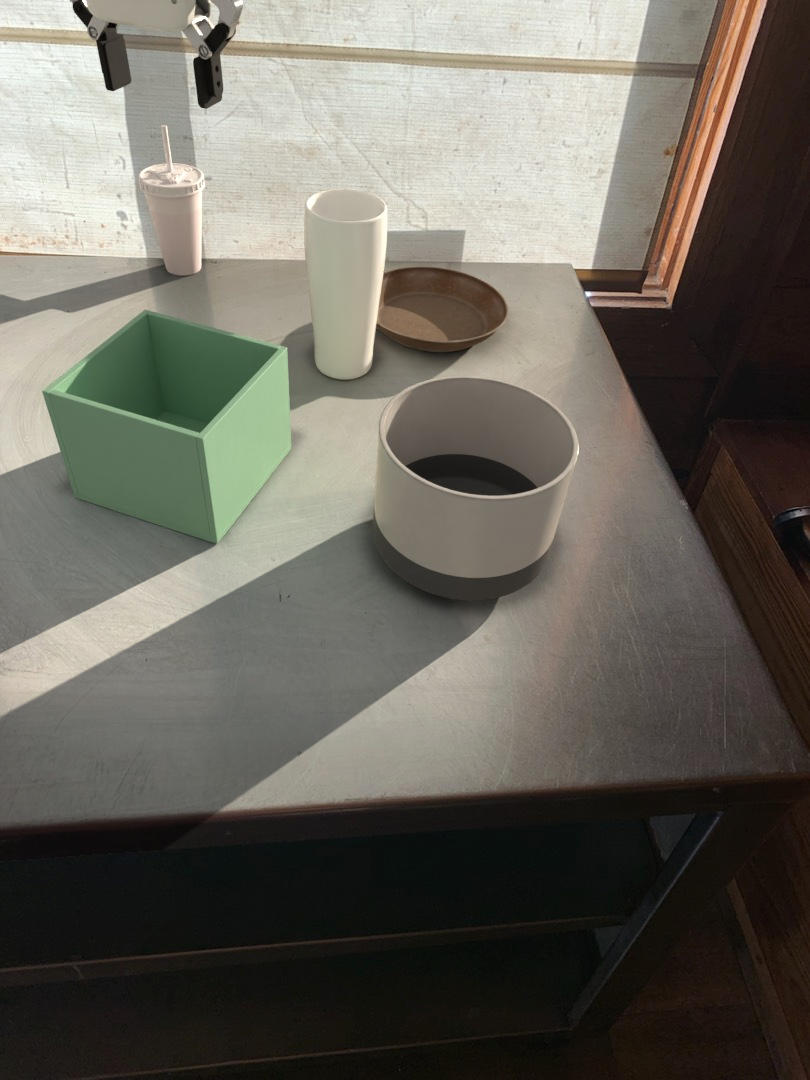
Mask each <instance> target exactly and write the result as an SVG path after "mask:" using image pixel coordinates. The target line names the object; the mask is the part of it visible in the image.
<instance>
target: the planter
mask: <svg viewBox="0 0 810 1080" xmlns="http://www.w3.org/2000/svg"><path fill="white" fill-rule="evenodd" d="M579 447H580V446H579V439H578V436H577V433H576V429H575V428H574V426H573V424H572V422H571V421H570V420H569V418H568V417H567V416H566V414H564V413H563V411H561V410H560V408H558V407H557V406H556V405H555V404H554V403H553V402H551V401H550V400H548V399H547V398H545V397H543V396H542V395H540V394H539V393H537V392H534V391H533V390H530V389H528V388H527V387H525V386H522V385H519V384H517V383H514V382H510V381H507V380H502V379H497V378H494V377H487V376H479V375H447V376H440V377H435V378H431V379H427V380H422V381H420V382H418V383H414V384H413V385H409V386H408V387H406V388H404V389H403V390H402V391H400V392H398V393H397V394H396V395H394V397H392V398H391V399H390V400H389V401H388V403H387V404H386V405H385V407H384V408H383V410H382V412H381V414H380V417H379V421H378V435H377V449H376V450H377V453H376V466H375V467H376V469H375V484H374V485H375V487H374V500H373V501H374V502H373V503H374V504H373V520H372V536H373V541H374V544H375V547H376V549H377V552H378V554H379V555H380V557H381V559H382V560H383V562H384V563H385V564H386V565H387V567H388V568H389V569H391V571H392V572H394V573H395V575H397V576H398V577H400V578H401V579H402V580H403V581H405V582H406V583H408V584H410V585H411V586H413V587H415V588H417V589H420V590H421V591H423V592H426V593H428V594H431V595H434V596H438V597H442V598H446V599H451V600H460V601H485V600H493V599H496V598H501V597H505V596H507V595H511V594H514V593H515V592H518V591H520V590H521V589H523V588H524V587H526V586H528V585H529V584H530V583H532V582H533V581H534V580H535V579H536V578H537V577H538V576H539V574H540V573H541V572H542V571H543V569H545V566H546V564H547V562H548V560H549V556H550V554H551V550H552V547H553V542H554V541H555V540H554V539H555V536H556V533H557V529H558V526H559V523H560V519H561V515H562V512H563V508H564V504H565V502H566V499H567V494H568V491H569V487H570V484H571V481H572V477H573V475H574V470H575V466H576V464H577V459H578V457H579V456H578V455H579Z"/></svg>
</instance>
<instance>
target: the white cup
mask: <svg viewBox="0 0 810 1080" xmlns="http://www.w3.org/2000/svg"><path fill="white" fill-rule="evenodd" d="M303 223H304V224H303V239H304V240H303V243H304V258H305V269H306V278H307V287H308V295H309V305H310V315H311V324H312V333H313V345H314V347H313V348H314V364H315V365H316V368H317V369H318V371H319V372H320V373H321V374H323V375H325V377H326V376H327V377H328V378H331V379H334V380H339V381H343V380H344V381H347V380H354V379H358V378H361V377H363V376H365V375H366V374H367V373H369V371H370V370H371V368H372V366H373V360H374V344H375V337H376V329H377V327H376V323H377V316H378V308H379V301H380V295H381V288H382V281H383V274H384V272H385V265H386V258H387V257H386V256H387V248H388V247H387V244H388V206H387V204H386V203H385V201H384V200H383V199H381V198H380V197H378V196H377V195H374V194H372V193H369V192H367V191H366V192H365V191H363V190H356V189H347V188H336V189H327V190H322V191H319V192H315V193H314V194H312V195H311V196H309V197H308V198H307V199H306V201H305V203H304V219H303Z"/></svg>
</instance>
